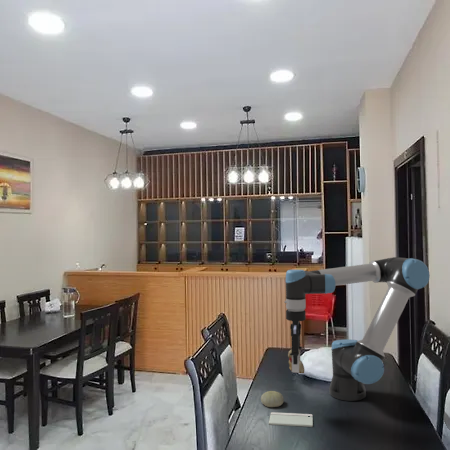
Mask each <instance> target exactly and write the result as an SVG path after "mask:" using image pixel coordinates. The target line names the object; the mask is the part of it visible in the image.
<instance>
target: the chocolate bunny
mask: <svg viewBox="0 0 450 450" xmlns="http://www.w3.org/2000/svg"><path fill="white" fill-rule="evenodd" d="M290 353H292V348H291V349H290V350H289V351H288V352H287V357H288V365H289V367H288V368H289V370H290V371H291V372H292V355H290ZM298 374H305V365H304V363H303V362H302V360H301V358H300V359H299V373H298Z"/></svg>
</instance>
